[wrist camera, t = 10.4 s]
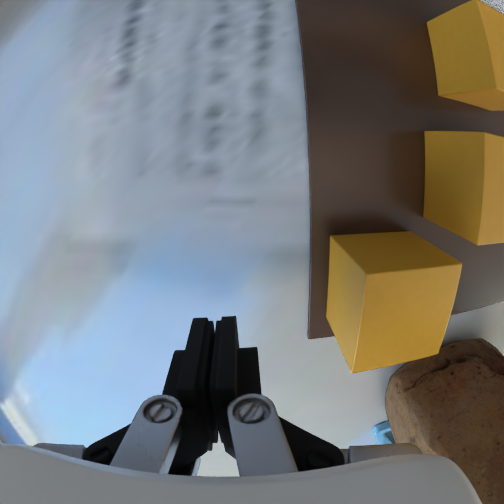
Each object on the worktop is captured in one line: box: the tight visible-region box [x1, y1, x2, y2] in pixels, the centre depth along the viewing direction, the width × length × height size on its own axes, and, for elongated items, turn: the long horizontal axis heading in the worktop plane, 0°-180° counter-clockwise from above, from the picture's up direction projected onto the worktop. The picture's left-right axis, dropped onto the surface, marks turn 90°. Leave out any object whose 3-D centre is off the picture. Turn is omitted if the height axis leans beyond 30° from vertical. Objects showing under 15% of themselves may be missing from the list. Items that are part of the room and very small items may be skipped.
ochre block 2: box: [427, 0, 504, 111], centre depth 9 cm, size 5×5×5 cm
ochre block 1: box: [326, 231, 462, 373], centre depth 14 cm, size 5×5×5 cm
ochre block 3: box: [423, 131, 504, 245], centre depth 12 cm, size 5×5×5 cm
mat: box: [295, 0, 504, 339], centre depth 13 cm, size 24×20×1 cm
